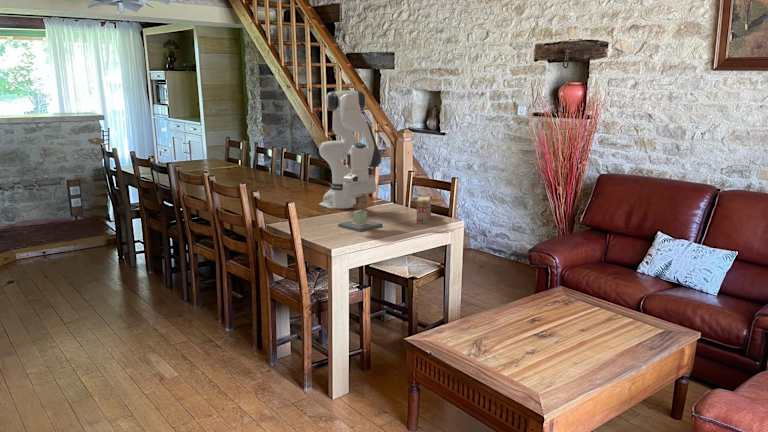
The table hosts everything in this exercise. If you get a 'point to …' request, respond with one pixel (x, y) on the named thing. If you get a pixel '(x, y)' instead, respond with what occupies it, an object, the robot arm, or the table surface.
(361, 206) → the walnut block
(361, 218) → the green block
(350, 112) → the robot arm
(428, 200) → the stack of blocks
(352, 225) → the baseplate
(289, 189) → the table surface
